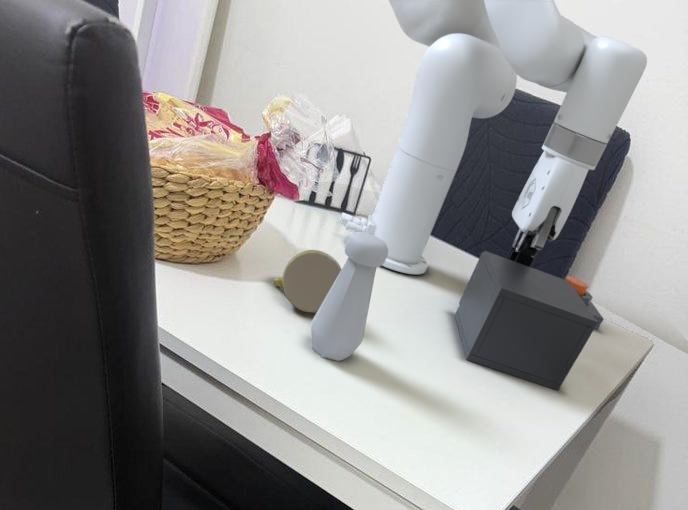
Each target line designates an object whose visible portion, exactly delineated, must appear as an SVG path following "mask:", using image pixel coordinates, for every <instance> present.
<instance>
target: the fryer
mask: <svg viewBox="0 0 688 510" xmlns="http://www.w3.org/2000/svg"><path fill="white" fill-rule="evenodd" d="M483 252H484V253H483V255H482V257H481V259H480V262H479V264H478V266H477V268H476V270H475V272H474V275H473V277H472V279H471V281H470V283H469V285H468V288H467V290H466V292H465V294H464V296H463V299H462V301H461V303H460V305H459V304H458V307H457V310H456V312H455V313H454V318H455V322H456V326H457V329H458V334H459V336H460V341H461V344H462V348H463V352H464V356H465V359H466V361H469V362H472V363H475V364H478V365H481V366H484V367H486V368H490V369H493V370H496V371H498V372H502V373H505V374H507V375H511V376H514V377H516V378H518V379H523V380H525V381H528V382H531V383H533V384H534V383H535V384H537V385H540V386H544V387H547V388H549V389H552V390H555V391H559V390H560V389H561V386H562V385H563V383H564V382H565V380H566V378H567V376H568V375H569V373H570V372H571V369H572V368H573V366H574V364H575V363H576V361H577V360H578V357H579V356H580V354H581V353H582V351H583V350H584V348H585V346H586V344H587V342H588V341H589V339H590V337H591V336H592V334H593V332H594V331H595V329H594V328H595V327H596V325H597V323H598V322H597V320H596V319H595V317H594V316H593V314H592V313H591V312H590V310H589V309H588V307H587V306H586V304H585V303H584V302H583V300H582V299H581V297H580V296H579V295H578V293H577V292H576V290H575V289H574V287H573V286H572V285H571V283H570V282H569V281H567V280H565V278H561V277H558V276H556V275H553V274H550V273H548V272H545V271H542V270H539V269H536V268H533V267H531V266H530V267H528V266H525V265H523V264H520V263H517V262H514V261H512V260H509V259H506V258H507V257H504V256H500V255H498V254H495V253H492V252H489V251H487V250H484V251H483Z"/></svg>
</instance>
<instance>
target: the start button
mask: <svg viewBox="0 0 688 510" xmlns="http://www.w3.org/2000/svg"><path fill="white" fill-rule="evenodd" d="M564 280H567V281H569V282H570V283H571V285H572V286H573V287H574V289H575V290H576V292H577V293H578V294H579V295H583V296H584V294H585V292H586V291H587V290H588V288H589V285H588V284H587V283H586V282H585V281H583V280H581V279H580V278H579V279H578V278H576V277H573V276H570V275H567V276H565V278H564Z"/></svg>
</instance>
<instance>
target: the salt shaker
mask: <svg viewBox="0 0 688 510" xmlns="http://www.w3.org/2000/svg"><path fill="white" fill-rule="evenodd" d="M344 254H345V255H346V257H347V259H346V261H345V262H344V265H343V266H342V268H341V269H342V270H341V271H340V273H339V275H338V277H337V278H336V280H335V282H334V283H333V285H332V287H331V289H330V290H329V292H328V294H327V296H326V297H325V299H324V301H323V303H322V304H321V306H320V308H319V309H318V311H317V312H316V313H315V315H314V316H313V318H312V320H311V321H310V334H311V336H310V337H311V348H312V350H313V351H315V352H316V353H317V354H319V355H320V356H321V357H322V358H325V359H329V360H332V361H336V362H341V361H344V360H346V359H348V358H349V357H350V356H351V355H352V354H353V353H354V352H355V351H356V350H357V349H358V348H359V347H360V346H361V344H362V343H363V342H364V341H363V340H364V337H365V336H364V335H365V330H366V324H367V319H368V315H369V314H368V313H369V309H370V304H371V298H372V293H373V288H374V287H373V286H374V283H375V277H376V272H377V268H380V267H383V266H382V265H383V263H384V262H385V260H386V258H387V254H388V248H387V245H386V243H385V242H384V241H383V240H381V239H380V238H378V237H376V236H374V235H372V234H369V233H365V232H352V233H351V234H349V236H348V237H347V239H346V242H345V245H344Z"/></svg>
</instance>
